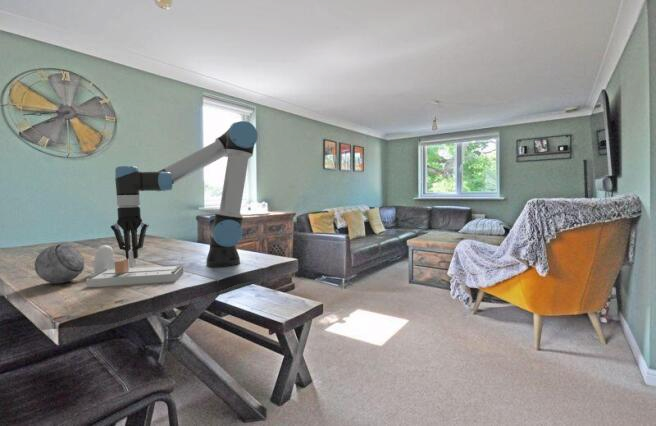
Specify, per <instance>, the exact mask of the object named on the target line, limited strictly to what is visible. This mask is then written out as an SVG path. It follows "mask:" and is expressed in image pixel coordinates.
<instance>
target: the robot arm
mask: <svg viewBox="0 0 656 426" xmlns="http://www.w3.org/2000/svg"><path fill="white" fill-rule="evenodd" d="M258 137H259V135H258V131H257V128H256V127H255V126H254V125H253V124H252V123H251V122H249V121H248V120H238V121H235V122H233V123H232V124H230V126H229V128H228V129H227V130H226V131H225V132H223V134H221V135H220V136H218V137H217V138H215V140H214V141H213V142H212V143H210V144H208V145H207V146H203V147H202V148H200V149H198V150H196V151H195V152H192V153H191V154H189V155H187V156H185V157H183V158H181V159H180V160H178V161H176V162H174V163H172V164H169V166H165V167H164V168H163V169H161V170H158V171H139V169H138V167H137V166H135V165H133V166H129V165H120V166H116V168H115V175H114V176H115V178H114V180H115V191H116V192H115V193H116V206H117V207H118V208H117V209H116V210H117V221H116V223H115V224H112V225H110V229H111V230H112V231H113V233H114V236H115V238H116V241H117V246H118V247H119V248H118V249H119V250H121V251H125V259H128V262H129V269H135V268H136V267H137V263H136V262H137V261H136V259H137V258H138V257H139V252H138V251H139V249H142V248H143V246H144V242H145V237H146V233H147V232H146V231H147V229H148V228H149V223H145V222H144V221H143V219H142V217H141V207H140V204H141V203H140V202H141V201H140V192H151V191H152V192H153V191H154V192H166V191H172V190H173V185H174V184H176V183H178V182H179V181H182V180H183V179H186V177H189V176H190V175H192V174H194V173H196V172H198V171H200V170H201V169H203V168H206V167H207V166H209V165H211V164H213V163H214V162H217V161H218V160H221V158H224V157H225V158H227V162H226V167H225V174H224V180H223V186H222V187H223V188H222V192H221V199H220V205H219V210H218V211H216V212H215V214H213V215H210V216H209V218H208V232H209V233H208V234H209V235H208V237H209V250H208V253H207V257H206V261H205V262H206V266H208V267H213V268H222V267H223V268H224V267H230V266H231V267H232V266H237V265H238V264H240V263H241V258H240V254H239V253H238V250H237V246H236V245H237V244H238V243H239V242H240V241H241V240H242V237H243V233H244V232H243V228H242V225H243V219H244V217H243V215H242V213H241V209H242V202H243V194H244V191H245V190H244V188H245V183H246V176H247V170H248V164H249V159H250V158H251V157H253V155H254V149H255V145H256V143H257V141H258ZM139 227H140V228H141V229H140V232H139V237H138V229H139ZM120 229H122V233H123V236H122V233H121V230H120Z"/></svg>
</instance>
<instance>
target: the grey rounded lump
mask: <svg viewBox="0 0 656 426" xmlns="http://www.w3.org/2000/svg"><path fill="white" fill-rule="evenodd" d="M84 268H85V259H84V256H83V255H82V253H81V252H80V251H79V250H78V249H76V248H75V247H74V246H71V245H69V244H66V243H56V244H54V245H50V246H47V247H46V248H44V249H43V250H42V251H41V252H39V254H38V255H37V256H36V259H35V261H34V270H35V273H36V275H37V276H38V278H40V279H41V280H43V281H45V282H48V283H50V284H65V283H68V282H70V281H73V280H74V279H75V278H77V277H79V275H81V273H82V272H83V271H84Z"/></svg>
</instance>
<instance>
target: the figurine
mask: <svg viewBox="0 0 656 426" xmlns="http://www.w3.org/2000/svg"><path fill="white" fill-rule="evenodd" d="M115 261H117V260H116V258H114V249H113V247H111V246H110V245H106V244H105V245H101V246H99V247H98V248H97V249H96V251H95V254H94V259H93V271H94V272H93V274H95V273H97V272H99V271H101V270H103V269H107V270H115Z"/></svg>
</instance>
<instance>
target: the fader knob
mask: <svg viewBox="0 0 656 426" xmlns="http://www.w3.org/2000/svg"><path fill="white" fill-rule="evenodd" d="M129 269H130V268H129V259H126V258H119V259H118V260H116V261H115V267H114V270H115V274H124V273H126V272H127V271H129Z"/></svg>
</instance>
